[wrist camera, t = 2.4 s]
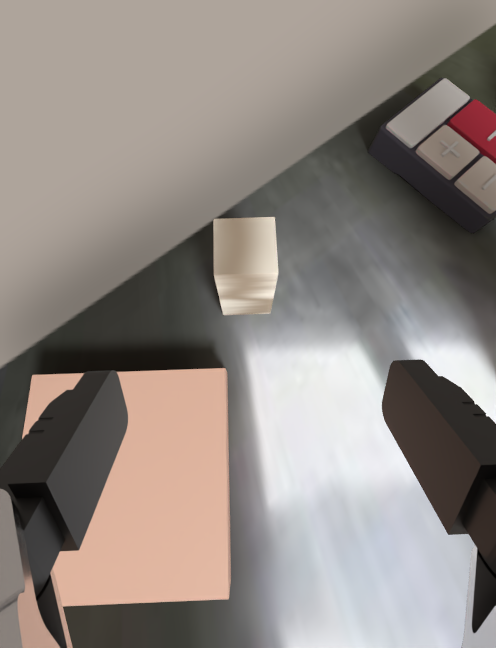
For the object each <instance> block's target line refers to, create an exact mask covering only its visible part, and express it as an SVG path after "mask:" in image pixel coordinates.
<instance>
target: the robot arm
mask: <svg viewBox="0 0 496 648" xmlns="http://www.w3.org/2000/svg"><path fill="white" fill-rule="evenodd" d="M382 412H383V416H384V420H385V422H386V424H387V426H388V428H389V429H390V431H391V433H392V435H393V437H394V438H395V440H396V442H397V444H398V445H399V447H400V449H401V451H402V453H403V454H404V456H405V458H406V460H407V462H408V463H409V465H410V467H411V469H412V471H413V472H414V474H415V476H416V478H417V479H418V481H419V483H420V485H421V487H422V488H423V490H424V492H425V494H426V496H427V497H428V499H429V501H430V503H431V505H432V506H433V508H434V510H435V512H436V513H437V515H438V517H439V519H440V521H441V522H442V524H443V526H444V528H445V530H446V531H447V533H448V535H453V534H469V535H470V537H471V539H472V540H473V542H474V544H475V545H474V547H473V549H472V552H471V560H470V571H469V582H468V594H467V605H466V616H465V627H464V636H463V642H462V647H461V648H496V424H495V422H494V421H493V420H492V419H491V418H490V417H486V413H485V412H484V411H483V410H482V409H481V408H480V407H479V406H478V405H477V404H476V405H475V404H474V401H473V400H472V399H471V398H470V397H469V396H468V395H467V393H466V392H465V391H464V390H463V389H462V388H461V387H459V386H457V385H456V384H454V383H453V382H451V381H449V380H448V379H446V378H444V377H443V376H438V375H437V374H436V373H435V372H434V371H433V370H432V369H431V368H430V367H429V366H428V364H427V363H426V362H425V361H423V360H397V361H393V362H392V364H391V366H390V369H389V374H388V378H387V383H386V387H385V391H384V396H383V401H382ZM127 426H128V411H127V407H126V403H125V399H124V395H123V391H122V388H121V384H120V380H119V376H118V374H117V372H116V371H114V370H108V371H87V372H85V373H84V374H83V376H82V377H81V379H80V380H79V381H78V383H77V384H76V386H75V387H74V389H73V390H66V391H65V392H63V393H62V394H61V395H59V396H58V397H57V398H55V399H54V400H53V401H51V402H50V403H49V404H48V406H47V407H46V408H45V410H44V411H43V412H42V414H41V415H40V416H39V418H38V421H36V422H35V423H34V424H33V426H32V427H31V428H30V430H29V433H28V434H26V435H25V436H24V438H23V439H22V440H21V442H20V443H19V444H18V446H17V447H16V448H15V450H14V451H13V452H12V454H11V455H10V456H9V458H8V459H7V460H6V462H5V463H4V464H3V466H2V467H1V468H0V648H72V644H71V639H70V635H69V631H68V627H67V623H66V619H65V615H64V610H63V606H62V602H61V598H60V594H59V590H58V585H57V581H56V577H55V573H54V571H53V569H52V568H53V566H54V564H55V561H56V559H57V557H58V555H59V552H60V551H79V549H80V547H81V544H82V542H83V539H84V537H85V534H86V532H87V529H88V527H89V524H90V522H91V519H92V517H93V514H94V512H95V509H96V507H97V504H98V502H99V499H100V496H101V494H102V491H103V489H104V486H105V484H106V481H107V479H108V476H109V474H110V471H111V469H112V466H113V464H114V461H115V459H116V456H117V454H118V451H119V449H120V446H121V444H122V441H123V438H124V436H125V433H126V430H127Z"/></svg>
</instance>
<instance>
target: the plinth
mask: <svg viewBox="0 0 496 648" xmlns="http://www.w3.org/2000/svg"><path fill="white" fill-rule="evenodd" d="M83 374H84V373H75V374H47V375H32V380H31V387H30V393H29V399H28V405H27V412H26V418H25V424H24V431H23V437H22V439H23V438H24V436H25V435H26V434H28V433H29V430H30V428H31V427H32V426H33V424H34V423H35V422H36V421H38V418H39V416H40V415H41V414H42V412H43V411H44V410H45V408H46V407H47V406H48V404H49V403H50V402H51V401H53V400H54V399H55V398H57V397H58V396H59V395H61V394H62V393H63V392H65V391H66V390H73V389H74V387H75V386H76V384H77V383H78V381H79V380H80V379H81V377H82V376H83ZM117 374H118V376H119V380H120V384H121V388H122V391H123V395H124V399H125V403H126V407H127V411H128V426H127V430H126V433H125V436H124V438H123V441H122V444H121V446H120V449H119V451H118V454H117V456H116V459H115V461H114V464H113V466H112V469H111V471H110V474H109V476H108V479H107V481H106V484H105V486H104V489H103V491H102V494H101V496H100V499H99V502H98V504H97V507H96V509H95V512H94V514H93V517H92V519H91V522H90V524H89V527H88V529H87V532H86V534H85V537H84V539H83V542H82V544H81V547H80V549H79V551H60V552H59V555H58V557H57V559H56V561H55V564H54V566H53V568H52V569H53V571H54V573H55V577H56V581H57V585H58V590H59V594H60V598H61V602H62V606H80V605H103V604H126V603H149V602H171V601H194V600H217V599H229V592H230V582H231V555H230V498H229V441H228V384H227V371H226V369H225V368H213V369H185V370H158V371H130V372H117Z"/></svg>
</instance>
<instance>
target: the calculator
mask: <svg viewBox="0 0 496 648" xmlns="http://www.w3.org/2000/svg"><path fill="white" fill-rule="evenodd" d="M368 153H369V154H371V155H372V156H373V157H374V158H376V159H377V160H378V161H379V162H381V163H382V164H383V165H385V166H386V167H387V168H388V169H390V170H391V171H392V172H394V173H396V174H399V175H400V176H401V177H402V178H404V179H405V180H406V181H407V182H408V183H409V184H411V185H412V186H413V187H414V188H415V189H416V190H418V191H419V192H420V193H421V194H422V195H423V196H425V197H426V198H427V199H428V200H429V201H431V202H432V203H433V204H434V205H436V206H437V207H438V208H439V209H441V210H442V211H443V212H444V213H446V214H447V215H448V216H450V217H451V218H452V219H453V220H455V221H456V222H457V223H458V224H460V225H461V226H462V227H464V228H465V229H466V230H467V231H469V232H470V233H475V232H476V231H478V230H479V229H481V228H482V227H483V226H485V225H486V224H487V223H489V222H490V221H491V220H493V219H494V218H495V217H496V114H495V113H494V112H492V111H491V110H490V109H488V108H487V107H486V106H485V105H483V104H482V103H481V102H479V101H478V100H472V99H471V98H470V97H469V96H468V95H467V94H466V93H464V92H463V91H462V90H460V89H459V88H458V87H457V86H455V85H454V84H453V83H451V82H450V81H449V80H447V79H444V78H440V79H439V80H437V81H436V82H435V83H434V84H432V85H431V86H430V87H429V88H427V89H426V90H425V91H424V92H422V93H421V94H420V95H419V96H417V97H416V98H415V99H414V100H412V101H411V102H410V103H409V104H407V105H406V106H405V107H404V108H402V109H401V110H400V111H398V112H397V113H396V114H395V115H393V116H392V117H391V118H390V119H388V120H387V121H386V122H385V123H383V124H382V125H381V126H380V128H379V130H378V132H377V133H376V135H375V137H374V139H373V141H372V143H371V145H370V147H369V149H368Z"/></svg>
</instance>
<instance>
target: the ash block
mask: <svg viewBox="0 0 496 648" xmlns="http://www.w3.org/2000/svg"><path fill="white" fill-rule="evenodd" d="M213 227H214V278H215V282H216V286H217V291H218V295H219V299H220V303H221V308H222V312H223V315H241V314H270V312H271V307H272V302H273V297H274V292H275V287H276V282H277V277H278V258H277V244H276V230H275V217H259V218H227V219H213Z"/></svg>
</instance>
